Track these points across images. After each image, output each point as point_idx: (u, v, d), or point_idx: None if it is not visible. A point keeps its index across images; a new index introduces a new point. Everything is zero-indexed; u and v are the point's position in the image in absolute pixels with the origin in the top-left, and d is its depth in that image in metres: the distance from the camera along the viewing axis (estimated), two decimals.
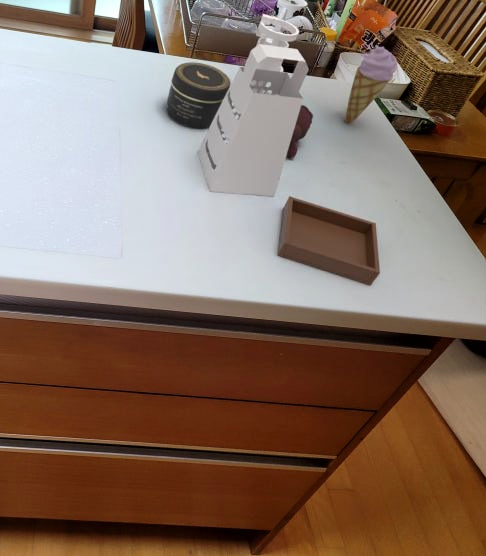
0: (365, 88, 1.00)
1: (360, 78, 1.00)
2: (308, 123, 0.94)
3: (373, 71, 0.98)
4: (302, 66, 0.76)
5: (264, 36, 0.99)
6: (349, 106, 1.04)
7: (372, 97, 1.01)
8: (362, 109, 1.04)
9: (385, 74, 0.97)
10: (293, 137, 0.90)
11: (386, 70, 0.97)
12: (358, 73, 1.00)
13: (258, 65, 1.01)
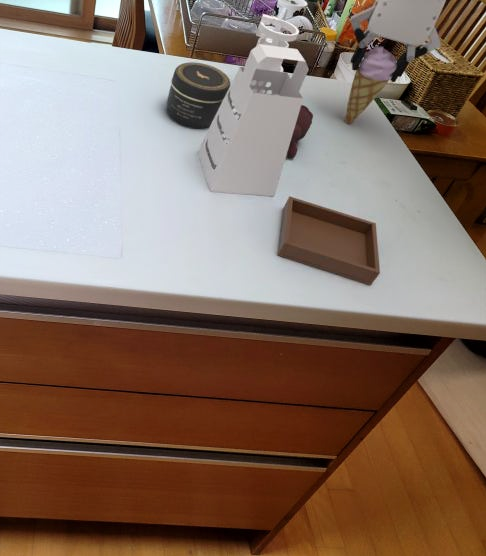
0: (365, 88, 1.00)
1: (359, 78, 1.00)
2: (308, 123, 0.94)
3: (372, 71, 0.98)
4: (302, 66, 0.76)
5: (264, 36, 0.99)
6: (349, 106, 1.04)
7: (372, 97, 1.01)
8: (362, 109, 1.04)
9: (385, 74, 0.97)
10: (293, 137, 0.90)
11: (385, 70, 0.97)
12: (357, 73, 1.00)
13: (258, 65, 1.01)
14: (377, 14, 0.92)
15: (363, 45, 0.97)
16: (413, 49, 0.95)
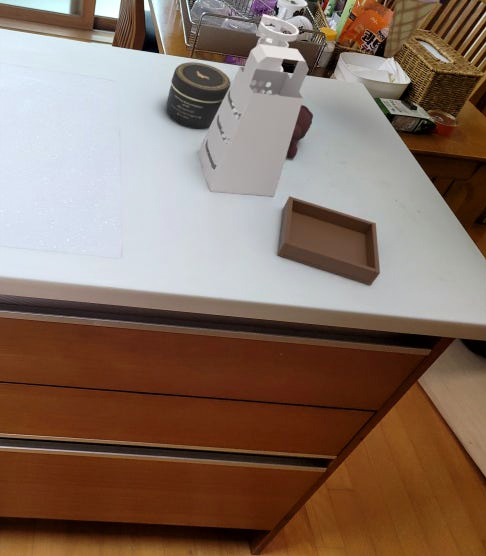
0: (409, 12, 0.88)
1: (403, 0, 0.88)
2: (308, 123, 0.94)
3: None
4: (302, 66, 0.76)
5: (264, 36, 0.99)
6: (390, 36, 0.92)
7: (417, 23, 0.89)
8: (405, 39, 0.92)
9: None
10: (293, 137, 0.90)
11: None
12: None
13: (258, 65, 1.01)
14: None
15: None
16: None
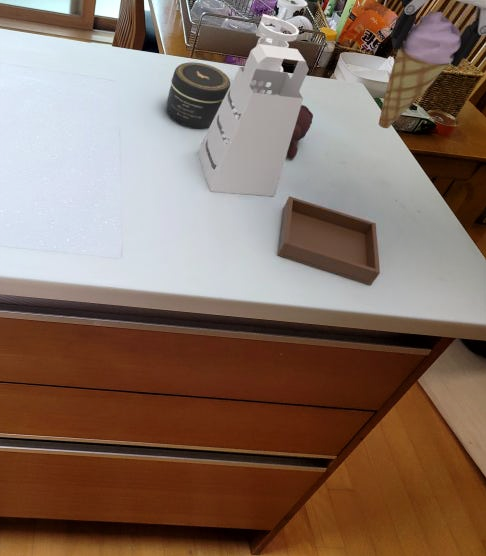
0: (412, 75, 0.67)
1: (404, 61, 0.67)
2: (308, 123, 0.94)
3: (424, 49, 0.65)
4: (302, 66, 0.76)
5: (264, 36, 0.99)
6: (386, 103, 0.72)
7: (421, 89, 0.68)
8: (405, 107, 0.71)
9: (444, 54, 0.65)
10: (293, 137, 0.90)
11: (444, 47, 0.64)
12: (401, 53, 0.67)
13: (258, 65, 1.01)
14: None
15: (411, 10, 0.64)
16: None
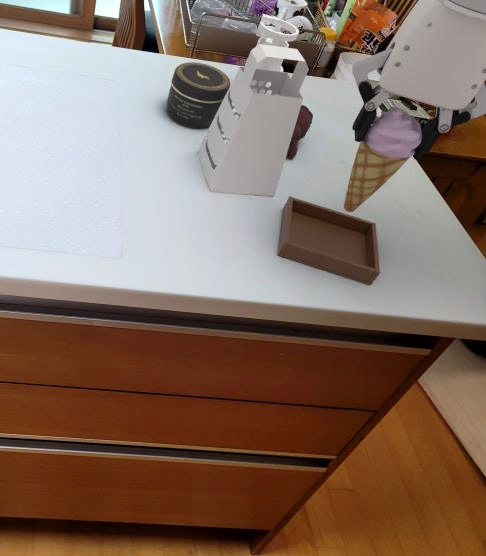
0: (374, 168, 0.67)
1: (366, 153, 0.66)
2: (308, 123, 0.94)
3: (385, 145, 0.64)
4: (302, 66, 0.76)
5: (264, 36, 0.99)
6: (350, 189, 0.71)
7: (384, 180, 0.68)
8: (369, 194, 0.70)
9: (405, 150, 0.64)
10: (293, 137, 0.90)
11: (405, 144, 0.64)
12: (363, 146, 0.67)
13: (258, 65, 1.01)
14: (394, 63, 0.59)
15: (372, 107, 0.63)
16: (449, 115, 0.62)
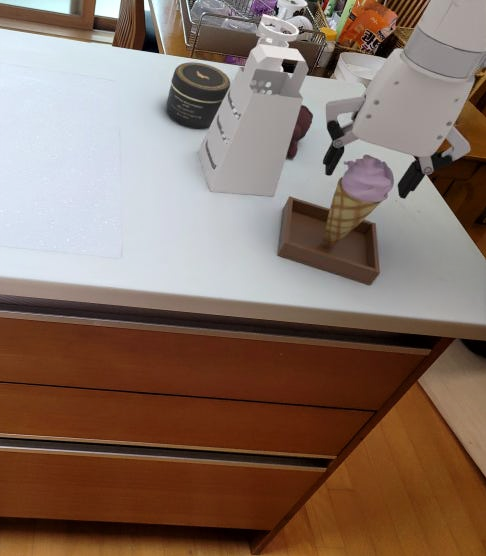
0: (349, 210, 0.71)
1: (342, 196, 0.71)
2: (308, 123, 0.94)
3: (359, 190, 0.69)
4: (302, 66, 0.76)
5: (264, 36, 0.99)
6: (328, 227, 0.76)
7: (359, 220, 0.73)
8: (346, 233, 0.75)
9: (377, 195, 0.69)
10: (293, 137, 0.90)
11: (377, 190, 0.68)
12: (339, 189, 0.71)
13: (258, 65, 1.01)
14: (365, 115, 0.63)
15: (339, 144, 0.68)
16: (428, 159, 0.66)
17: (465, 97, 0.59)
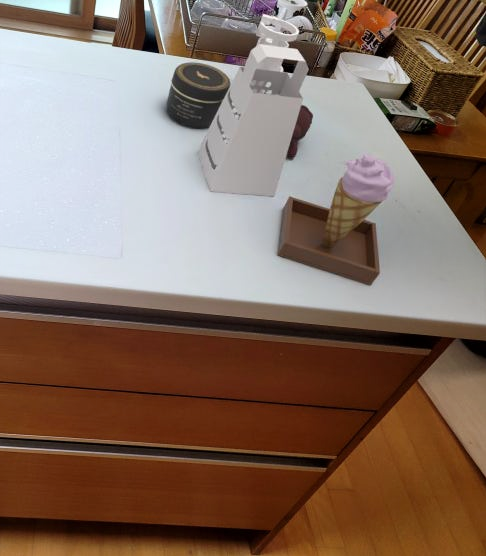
0: (349, 210, 0.71)
1: (342, 196, 0.71)
2: (308, 123, 0.94)
3: (359, 190, 0.69)
4: (302, 66, 0.76)
5: (264, 36, 0.99)
6: (328, 227, 0.76)
7: (359, 220, 0.73)
8: (346, 233, 0.75)
9: (377, 195, 0.69)
10: (293, 137, 0.90)
11: (378, 190, 0.68)
12: (339, 189, 0.71)
13: (258, 65, 1.01)
14: None
15: None
16: None
17: None
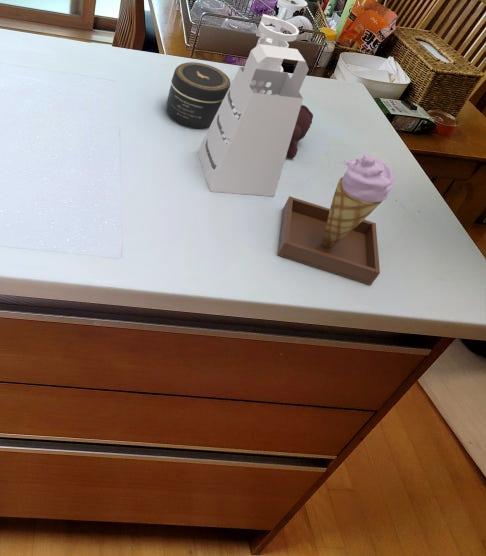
0: (349, 210, 0.71)
1: (342, 196, 0.71)
2: (308, 123, 0.94)
3: (360, 190, 0.69)
4: (302, 66, 0.76)
5: (264, 36, 0.99)
6: (328, 227, 0.76)
7: (359, 220, 0.73)
8: (346, 233, 0.75)
9: (377, 195, 0.69)
10: (293, 137, 0.90)
11: (378, 190, 0.68)
12: (339, 189, 0.71)
13: (258, 65, 1.01)
14: None
15: None
16: None
17: None
